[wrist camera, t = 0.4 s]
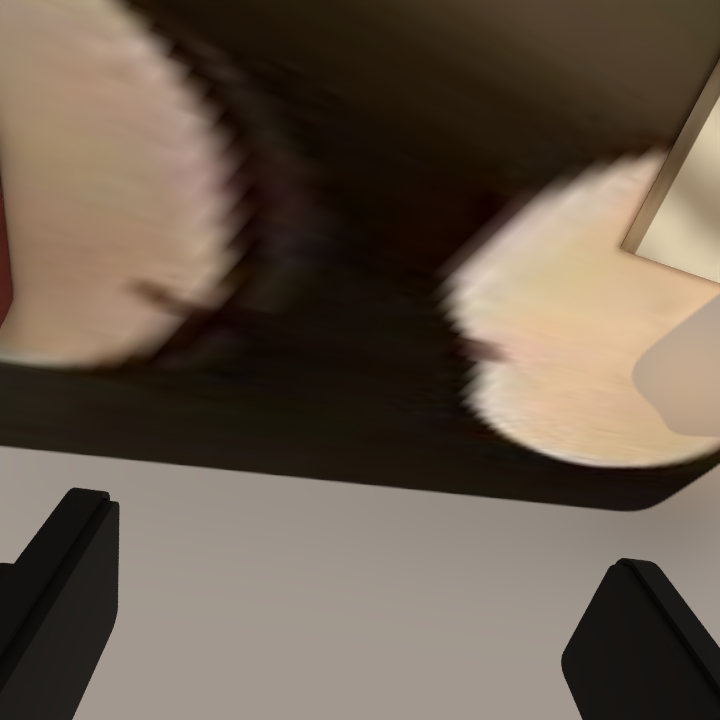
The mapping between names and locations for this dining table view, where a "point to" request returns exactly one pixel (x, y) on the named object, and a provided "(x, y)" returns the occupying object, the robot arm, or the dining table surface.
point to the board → (686, 196)
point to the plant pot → (4, 268)
